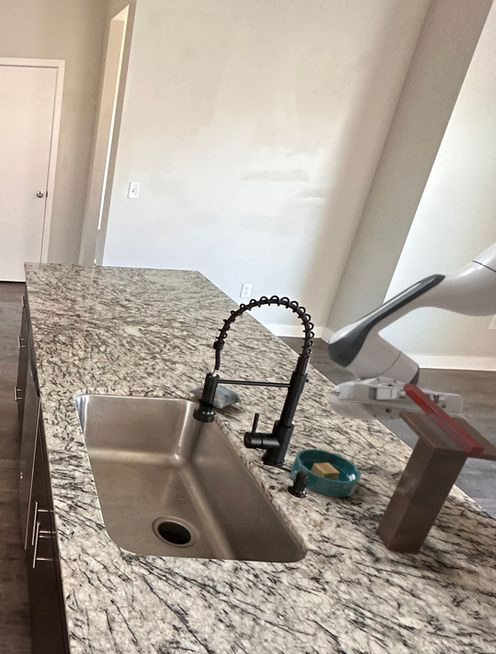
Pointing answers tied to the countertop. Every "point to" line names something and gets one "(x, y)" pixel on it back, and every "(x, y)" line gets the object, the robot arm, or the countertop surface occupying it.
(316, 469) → the block
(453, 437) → the red square bar
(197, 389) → the packaged food
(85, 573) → the countertop surface
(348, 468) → the bowl
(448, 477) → the brown pedestal stand
